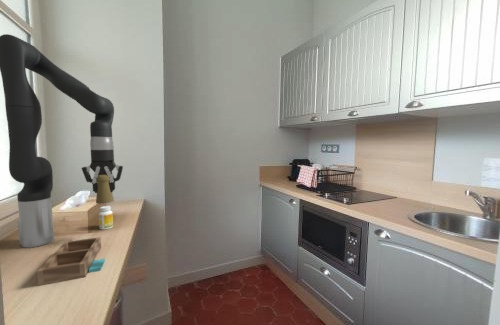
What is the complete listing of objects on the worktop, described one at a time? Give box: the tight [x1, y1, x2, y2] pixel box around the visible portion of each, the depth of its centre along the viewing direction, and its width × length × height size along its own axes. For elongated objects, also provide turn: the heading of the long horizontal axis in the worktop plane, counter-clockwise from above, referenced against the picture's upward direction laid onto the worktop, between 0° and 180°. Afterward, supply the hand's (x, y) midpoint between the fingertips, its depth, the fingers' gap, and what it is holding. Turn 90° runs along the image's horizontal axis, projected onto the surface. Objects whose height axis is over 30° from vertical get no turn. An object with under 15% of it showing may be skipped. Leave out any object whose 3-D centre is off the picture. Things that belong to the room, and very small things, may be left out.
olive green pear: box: [95, 174, 115, 205], centre depth 90 cm, size 6×6×11 cm
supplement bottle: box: [98, 205, 114, 231], centre depth 104 cm, size 5×5×10 cm
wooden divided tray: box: [36, 236, 106, 286], centre depth 73 cm, size 20×14×4 cm
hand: (104, 191), depth 90 cm, fingers closed on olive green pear, 4 cm apart
